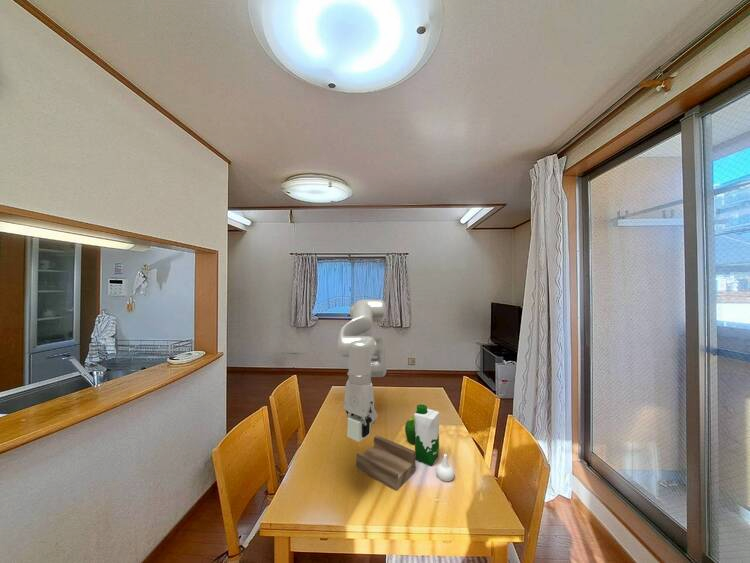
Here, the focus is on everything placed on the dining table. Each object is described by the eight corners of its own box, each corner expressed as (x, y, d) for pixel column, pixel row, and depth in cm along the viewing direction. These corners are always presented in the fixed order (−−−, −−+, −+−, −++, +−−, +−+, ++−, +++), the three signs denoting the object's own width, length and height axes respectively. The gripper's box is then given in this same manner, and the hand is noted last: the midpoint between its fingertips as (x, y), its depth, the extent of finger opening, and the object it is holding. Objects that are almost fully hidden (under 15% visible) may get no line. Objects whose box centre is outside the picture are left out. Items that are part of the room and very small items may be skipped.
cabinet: (347, 436, 90) (347, 415, 90) (359, 429, 95) (359, 408, 95) (358, 441, 87) (359, 419, 87) (370, 434, 92) (370, 413, 92)
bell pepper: (423, 447, 115) (423, 423, 116) (404, 445, 117) (404, 421, 117) (424, 437, 124) (424, 414, 124) (406, 434, 125) (406, 413, 125)
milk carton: (420, 449, 114) (420, 401, 114) (441, 456, 109) (441, 406, 110) (411, 460, 106) (412, 409, 107) (433, 468, 102) (434, 414, 102)
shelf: (376, 452, 112) (377, 434, 112) (415, 470, 101) (415, 451, 101) (355, 468, 101) (356, 449, 102) (396, 490, 90) (396, 469, 91)
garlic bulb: (435, 471, 101) (433, 450, 101) (452, 470, 101) (450, 449, 101) (438, 484, 95) (436, 460, 95) (456, 483, 94) (454, 459, 95)
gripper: (334, 375, 94) (333, 428, 93) (372, 387, 83) (372, 447, 83) (349, 370, 99) (348, 420, 99) (387, 380, 89) (386, 436, 89)
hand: (359, 432), depth 91 cm, fingers closed on cabinet, 5 cm apart
